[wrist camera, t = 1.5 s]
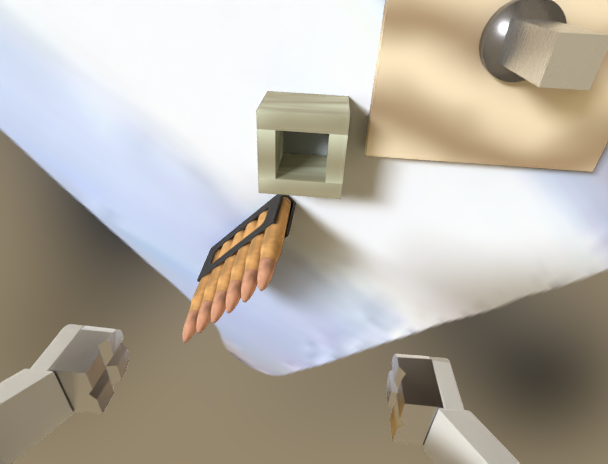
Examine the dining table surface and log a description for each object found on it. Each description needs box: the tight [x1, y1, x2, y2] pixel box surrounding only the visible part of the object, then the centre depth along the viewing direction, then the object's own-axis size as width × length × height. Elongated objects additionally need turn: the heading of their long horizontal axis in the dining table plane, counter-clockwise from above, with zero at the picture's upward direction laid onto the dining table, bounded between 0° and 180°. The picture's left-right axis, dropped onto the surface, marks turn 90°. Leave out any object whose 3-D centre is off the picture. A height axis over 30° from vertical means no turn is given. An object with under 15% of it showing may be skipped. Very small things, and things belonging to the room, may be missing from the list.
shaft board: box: [365, 0, 608, 172], centre depth 23 cm, size 18×18×9 cm
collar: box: [256, 91, 350, 199], centre depth 30 cm, size 6×6×5 cm
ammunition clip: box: [183, 194, 296, 343], centre depth 33 cm, size 11×2×12 cm, turn 133°
